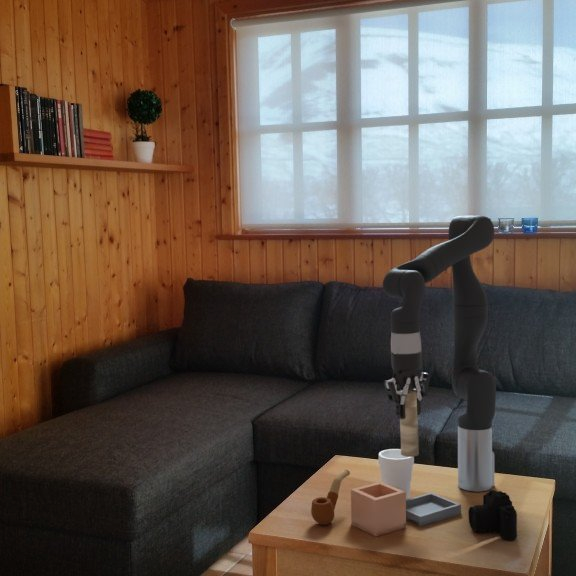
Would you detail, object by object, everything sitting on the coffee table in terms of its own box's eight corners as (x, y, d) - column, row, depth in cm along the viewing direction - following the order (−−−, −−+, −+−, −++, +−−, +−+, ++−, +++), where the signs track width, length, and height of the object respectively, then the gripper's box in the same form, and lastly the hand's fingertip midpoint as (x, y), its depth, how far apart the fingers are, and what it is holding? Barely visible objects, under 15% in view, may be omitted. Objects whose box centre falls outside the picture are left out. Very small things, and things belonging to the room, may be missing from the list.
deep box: (381, 515, 204) (380, 481, 203) (406, 527, 196) (405, 492, 195) (351, 524, 199) (350, 489, 198) (375, 536, 191) (375, 500, 190)
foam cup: (413, 508, 208) (412, 460, 207) (378, 506, 210) (377, 458, 209) (414, 495, 218) (414, 449, 217) (381, 494, 220) (380, 448, 218)
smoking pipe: (332, 531, 196) (310, 529, 198) (353, 487, 212) (332, 486, 214) (328, 507, 194) (306, 505, 196) (349, 465, 210) (328, 464, 212)
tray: (431, 501, 213) (431, 492, 213) (461, 513, 204) (461, 504, 204) (391, 513, 205) (391, 503, 205) (420, 526, 196) (420, 516, 196)
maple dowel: (410, 450, 204) (408, 389, 202) (422, 454, 200) (420, 392, 198) (397, 453, 201) (395, 392, 200) (409, 457, 198) (406, 395, 196)
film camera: (461, 518, 201) (461, 484, 200) (498, 516, 202) (498, 482, 201) (481, 543, 186) (481, 506, 185) (521, 540, 187) (521, 503, 186)
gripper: (417, 343, 205) (419, 408, 207) (374, 351, 197) (377, 419, 199) (437, 347, 199) (439, 414, 200) (394, 355, 191) (397, 425, 193)
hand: (408, 416), depth 200 cm, fingers closed on maple dowel, 4 cm apart
